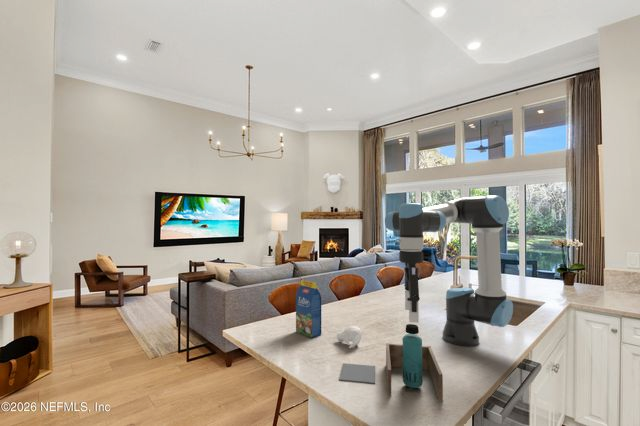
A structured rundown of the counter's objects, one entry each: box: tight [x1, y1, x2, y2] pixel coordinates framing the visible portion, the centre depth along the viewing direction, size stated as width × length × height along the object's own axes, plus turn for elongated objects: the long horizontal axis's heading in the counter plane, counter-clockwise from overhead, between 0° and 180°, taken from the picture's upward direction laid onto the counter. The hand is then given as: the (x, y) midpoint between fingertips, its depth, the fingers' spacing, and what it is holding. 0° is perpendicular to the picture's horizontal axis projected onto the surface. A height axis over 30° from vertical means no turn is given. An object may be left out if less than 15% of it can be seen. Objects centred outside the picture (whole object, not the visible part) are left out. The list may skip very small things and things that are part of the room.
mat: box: [338, 363, 376, 385], centre depth 109 cm, size 12×12×1 cm
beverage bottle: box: [401, 323, 424, 389], centre depth 100 cm, size 6×7×20 cm
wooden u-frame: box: [385, 342, 444, 402], centre depth 103 cm, size 16×21×8 cm
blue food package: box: [295, 279, 322, 339], centre depth 148 cm, size 6×12×25 cm, turn 42°
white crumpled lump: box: [336, 325, 363, 349], centre depth 134 cm, size 6×8×12 cm
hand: (411, 315), depth 100 cm, fingers open, 13 cm apart
